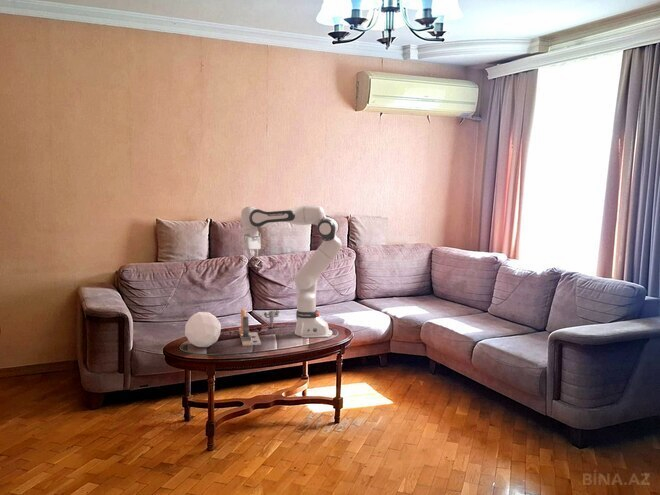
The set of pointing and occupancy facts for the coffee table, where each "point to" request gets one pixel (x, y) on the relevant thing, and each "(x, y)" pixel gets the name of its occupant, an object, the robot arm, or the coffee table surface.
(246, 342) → the dividers beam
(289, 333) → the coffee table surface
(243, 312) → the post
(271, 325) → the mechanical component
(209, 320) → the geometric polyhedron
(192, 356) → the coffee table surface
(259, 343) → the bolt hole strip
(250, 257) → the robot arm
